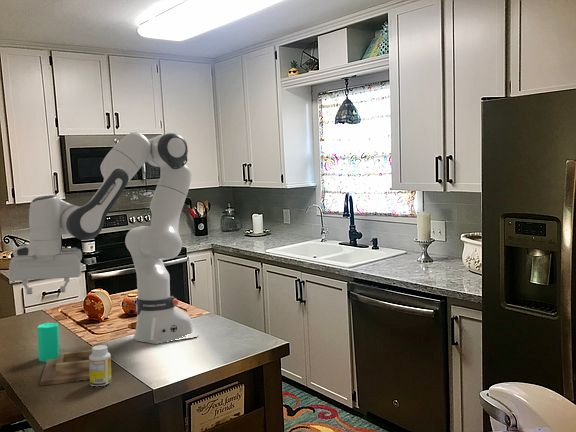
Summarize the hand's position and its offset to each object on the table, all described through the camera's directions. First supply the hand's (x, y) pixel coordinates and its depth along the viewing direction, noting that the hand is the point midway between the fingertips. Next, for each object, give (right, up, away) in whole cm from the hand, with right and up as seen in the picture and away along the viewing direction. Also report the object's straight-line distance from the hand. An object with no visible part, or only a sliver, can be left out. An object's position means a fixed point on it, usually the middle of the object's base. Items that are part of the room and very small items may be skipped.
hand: (46, 293), depth 160 cm
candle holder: (+13, -21, -9) cm, 27 cm away
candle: (0, -21, +2) cm, 21 cm away
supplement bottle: (+24, -22, -19) cm, 37 cm away
